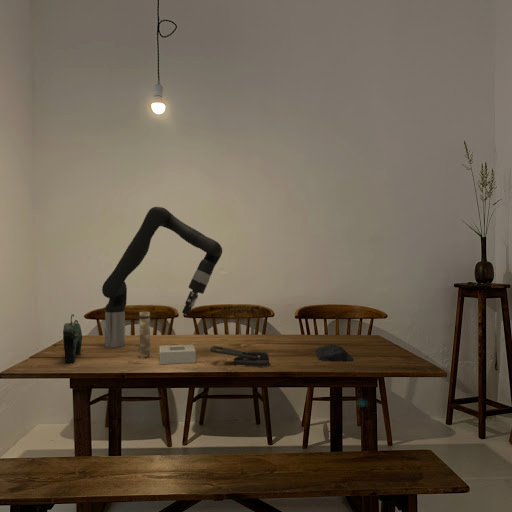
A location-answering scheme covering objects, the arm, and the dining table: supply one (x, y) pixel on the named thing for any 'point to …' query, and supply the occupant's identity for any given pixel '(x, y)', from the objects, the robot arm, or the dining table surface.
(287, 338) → the dining table surface
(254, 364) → the zipper pull
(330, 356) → the dark slate chunk
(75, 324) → the ceramic cat
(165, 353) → the well block
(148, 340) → the beech dowel
